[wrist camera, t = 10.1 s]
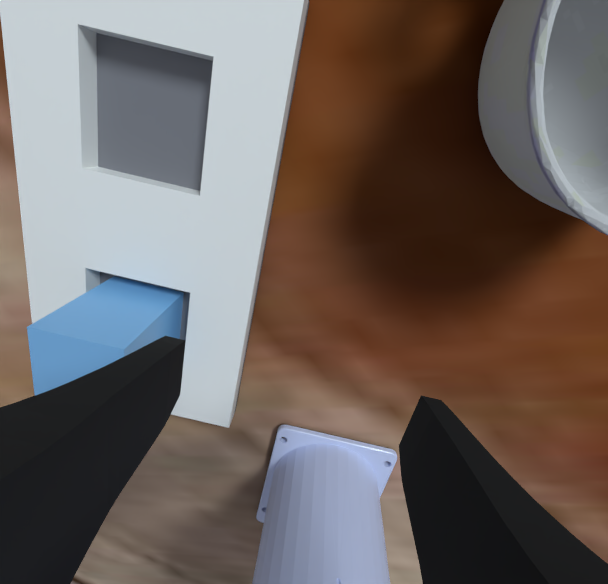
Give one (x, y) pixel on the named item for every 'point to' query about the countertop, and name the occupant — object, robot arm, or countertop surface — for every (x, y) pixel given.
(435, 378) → the countertop surface
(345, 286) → the countertop surface
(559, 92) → the teacup
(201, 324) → the panel
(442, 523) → the robot arm
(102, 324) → the plug
